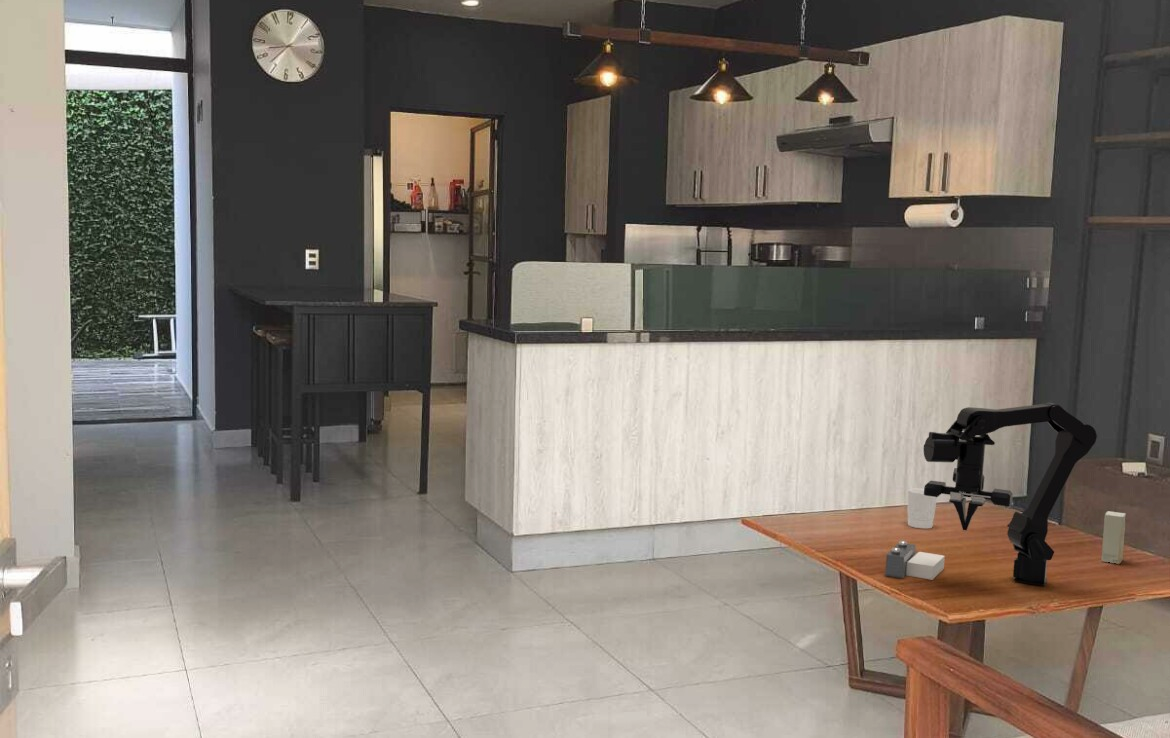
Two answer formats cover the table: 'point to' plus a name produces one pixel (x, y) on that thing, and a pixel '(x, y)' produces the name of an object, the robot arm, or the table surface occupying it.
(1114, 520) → the skincare box
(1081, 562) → the table surface
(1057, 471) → the robot arm
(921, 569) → the white rectangular block
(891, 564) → the stop bar
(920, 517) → the white cup
